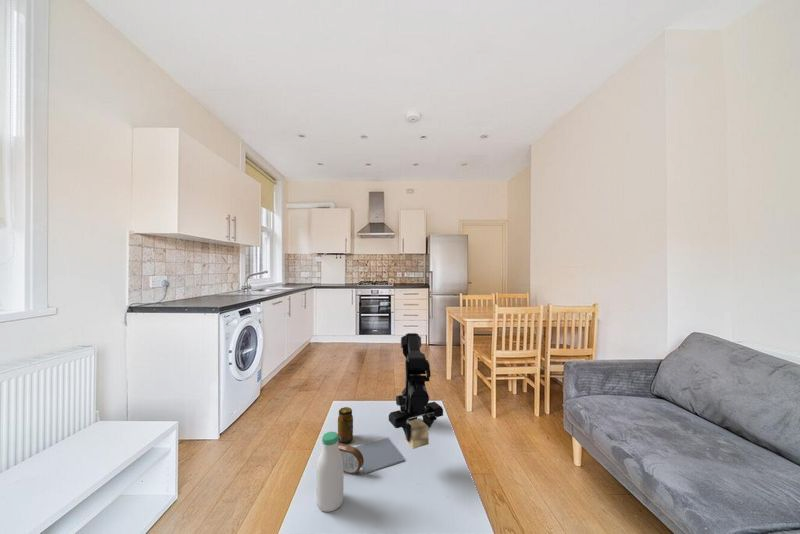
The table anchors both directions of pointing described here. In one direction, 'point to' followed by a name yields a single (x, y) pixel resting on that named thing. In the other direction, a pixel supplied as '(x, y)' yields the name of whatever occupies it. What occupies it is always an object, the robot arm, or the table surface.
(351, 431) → the condiment
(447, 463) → the table surface
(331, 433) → the milk bottle
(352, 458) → the tin
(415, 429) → the oak cube
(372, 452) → the slate mat
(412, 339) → the robot arm
